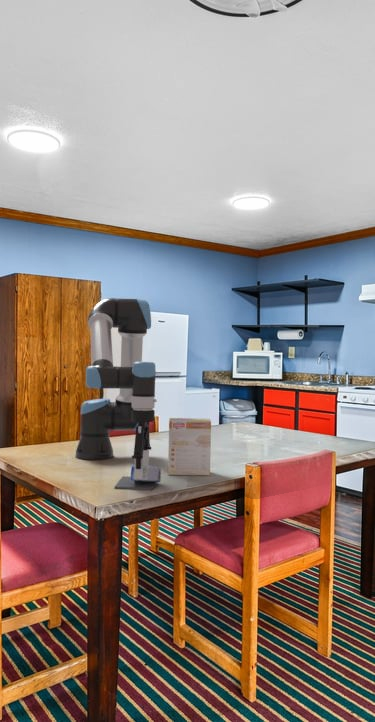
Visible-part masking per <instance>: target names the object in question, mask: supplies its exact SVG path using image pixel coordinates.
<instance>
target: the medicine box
mask: <svg viewBox="0 0 375 722" xmlns="http://www.w3.org/2000/svg"><path fill="white" fill-rule="evenodd" d="M161 475H162V469H161V468H160V467H158V466H151V465H149V466H143V479H134V465H132V466H131V469H130V477H131V480H133V481H139V482H156V483H161V480H162V479H161V478H162V477H161Z"/></svg>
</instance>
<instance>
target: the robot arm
mask: <svg viewBox="0 0 375 722" xmlns="http://www.w3.org/2000/svg"><path fill="white" fill-rule="evenodd" d="M87 326H88V329H89V330H90V356H91V357H90V358H91V359H90V360H91V361H90V362H91V365H90V366H89V365H87V367H85V386H86V387H87V388H88V389H97V390H98V389H119V393H118V394H117V396H116V397H115V401H113V402H112V401H111V399H110V398H106V397H105V398H96V399H90V400H85V401H84V402H82V403H81V407H80V408H81V409H80V413H79V414H80V438H79V440H78V444H77V446H76V449H75V457H76V458H78V459H81V460H90V461H93V460H104V459H105V460H107V459H111V458H113V457H114V450H113V446H112V442H111V439H110V431H131V432H133V431H135V435H134V436H135V438H134V448H133V455H131V459H134V461H133V462H134V463H133V466H134V479H143V466H150V465H149V463H150V451H151V450H152V446H151V442H150V440H151V438H150V423H151V422H152V423H153V422H154V421H155V416H156V415H155V413H156V412H155V410H154V409H155V403H157V399H156V398H155V396H156V375H157V371H156V363H155V362H153V361H143V342H144V337H145V335H147V333H148V330H150V329H151V327H152V314H151V308H150V304H149V302H148V301H147V300H145V299H138V298H116V297H115V298H114V297H110V298H105V299H102V300H100V301H99V302H97V303H96V304H95V305H94V306H93V307H92V309H91V310H90V312H89V313H88V317H87ZM112 328H117V333H118V334H119V335H120V337H121V342H120V344H121V345H120V366H114V358H113V342H112V341H113V340H112Z"/></svg>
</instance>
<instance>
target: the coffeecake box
mask: <svg viewBox="0 0 375 722" xmlns="http://www.w3.org/2000/svg"><path fill="white" fill-rule="evenodd" d="M211 438H212V421H211V419H210V418H185V417H184V418H179V417H178V418H175V417H173V418H171V417H170V418H169V421H168V457H167V461H168V463H167V464H168V465H167V466H168V467H167V474H168V476H169V475H170V476H211V446H212V444H211V440H212V439H211Z"/></svg>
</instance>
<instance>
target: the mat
mask: <svg viewBox="0 0 375 722" xmlns="http://www.w3.org/2000/svg"><path fill="white" fill-rule="evenodd" d="M156 484H157V482H139V481H133V480H131V476H125V475H124V476H122V477H121V478H120V479H119V480H118V482H117V483H116V484H115V486H114V489H116V490H117V489H118V490H139V491H140V490H143V491H153V490H154V488H155V486H156Z"/></svg>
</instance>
